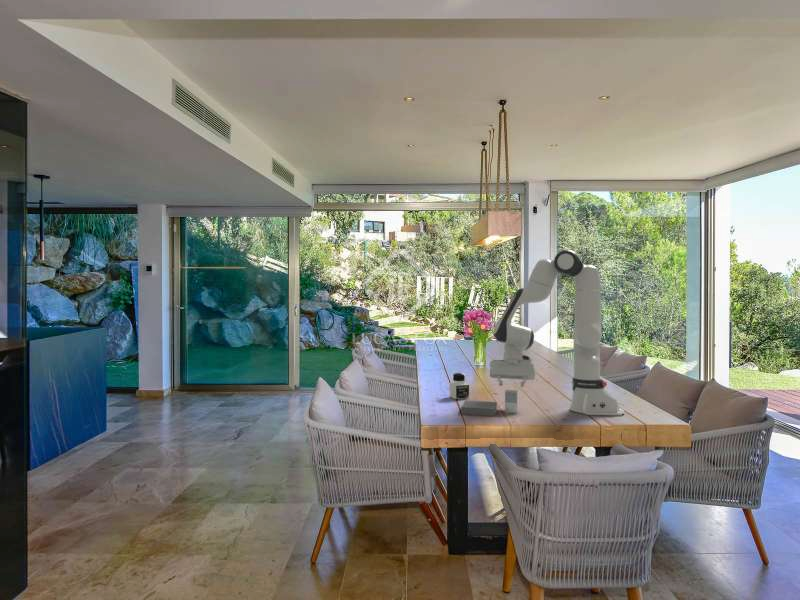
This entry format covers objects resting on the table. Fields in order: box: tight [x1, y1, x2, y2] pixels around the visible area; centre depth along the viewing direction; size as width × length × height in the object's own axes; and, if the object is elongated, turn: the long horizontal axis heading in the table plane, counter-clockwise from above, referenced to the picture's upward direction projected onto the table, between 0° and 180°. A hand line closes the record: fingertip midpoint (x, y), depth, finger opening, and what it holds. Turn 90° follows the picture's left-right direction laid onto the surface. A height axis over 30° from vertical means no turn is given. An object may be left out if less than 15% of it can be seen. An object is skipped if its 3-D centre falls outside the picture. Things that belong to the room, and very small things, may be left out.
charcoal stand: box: [460, 399, 498, 417], centre depth 234 cm, size 14×14×3 cm
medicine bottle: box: [449, 372, 470, 400], centre depth 262 cm, size 7×7×12 cm
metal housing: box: [504, 389, 518, 414], centre depth 234 cm, size 5×5×9 cm
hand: (511, 385), depth 239 cm, fingers open, 8 cm apart
